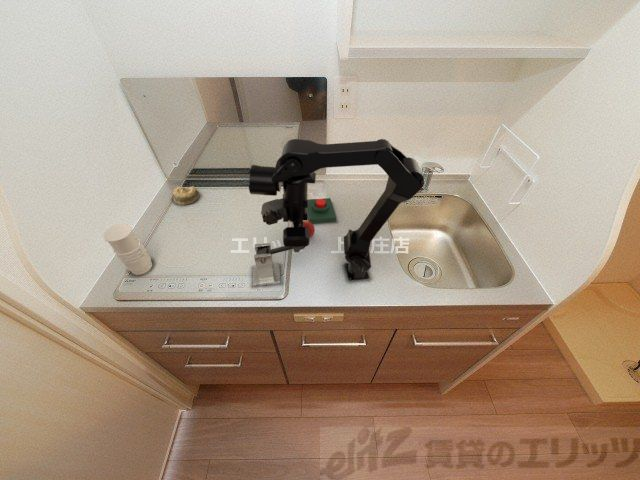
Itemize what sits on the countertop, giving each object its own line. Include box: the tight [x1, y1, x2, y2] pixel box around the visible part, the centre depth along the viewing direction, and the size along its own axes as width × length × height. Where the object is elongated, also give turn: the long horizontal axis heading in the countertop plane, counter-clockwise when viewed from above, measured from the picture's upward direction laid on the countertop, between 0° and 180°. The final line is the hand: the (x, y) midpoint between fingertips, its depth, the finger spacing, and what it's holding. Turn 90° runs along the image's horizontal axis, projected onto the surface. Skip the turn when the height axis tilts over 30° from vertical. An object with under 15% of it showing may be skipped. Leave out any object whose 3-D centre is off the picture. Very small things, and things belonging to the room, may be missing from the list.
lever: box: [257, 245, 307, 256], centre depth 75 cm, size 14×3×3 cm, turn 99°
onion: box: [303, 219, 316, 239], centre depth 92 cm, size 6×6×8 cm
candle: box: [102, 223, 153, 276], centre depth 78 cm, size 7×7×15 cm
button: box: [316, 198, 326, 208], centre depth 101 cm, size 4×4×2 cm
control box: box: [307, 197, 337, 225], centre depth 103 cm, size 12×10×4 cm
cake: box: [172, 185, 201, 206], centre depth 106 cm, size 10×10×5 cm
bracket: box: [252, 242, 281, 287], centre depth 78 cm, size 8×7×12 cm
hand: (296, 239), depth 76 cm, fingers open, 9 cm apart
